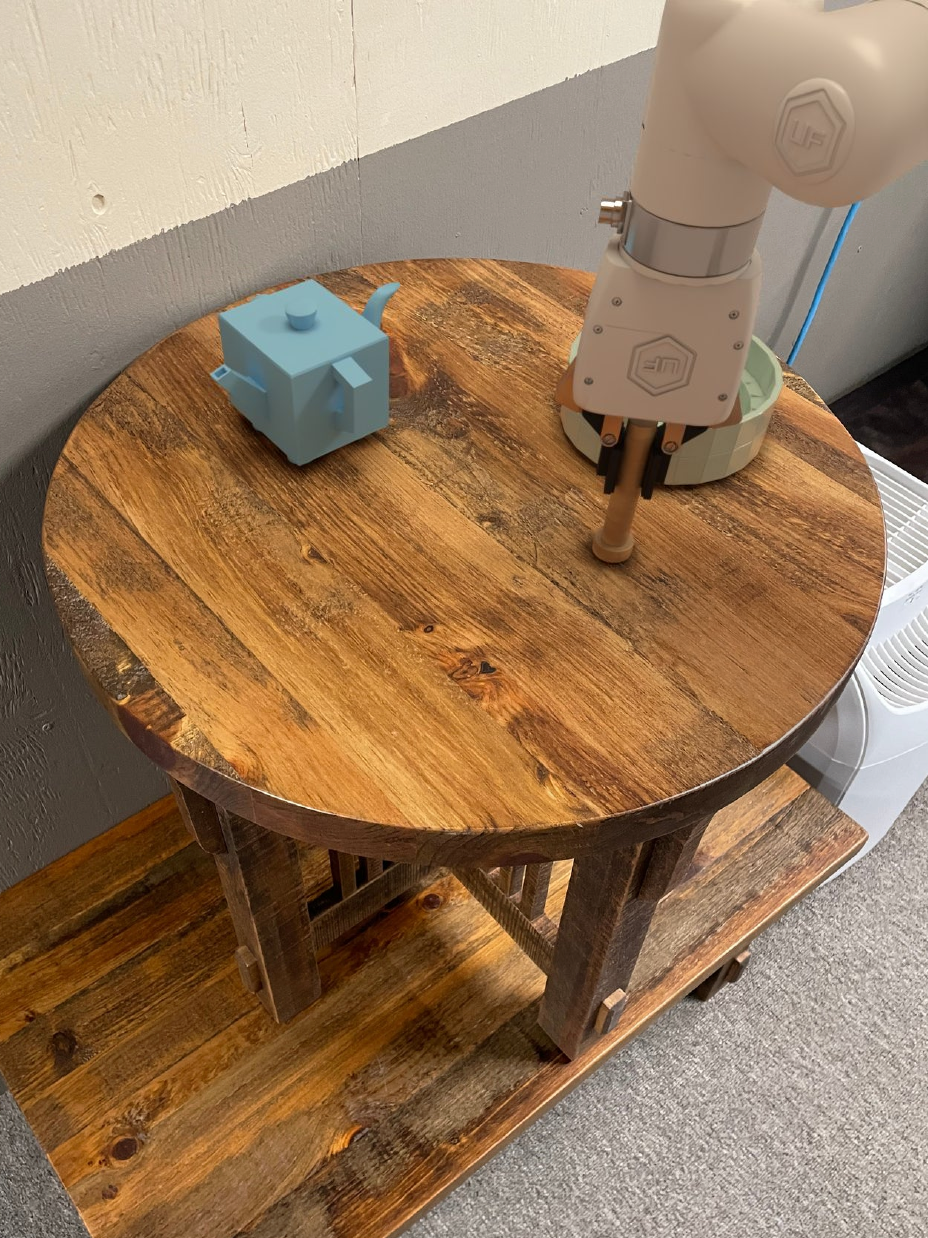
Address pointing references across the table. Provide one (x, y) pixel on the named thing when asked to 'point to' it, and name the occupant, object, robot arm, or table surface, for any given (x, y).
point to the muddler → (625, 493)
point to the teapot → (307, 367)
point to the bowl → (715, 447)
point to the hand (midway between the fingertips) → (628, 482)
